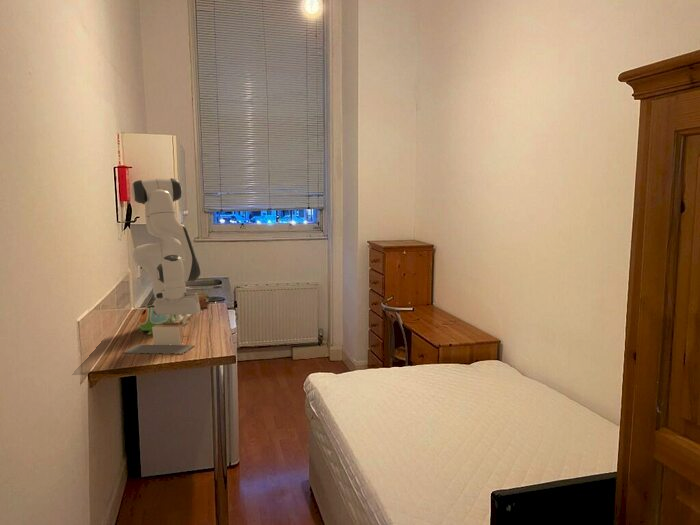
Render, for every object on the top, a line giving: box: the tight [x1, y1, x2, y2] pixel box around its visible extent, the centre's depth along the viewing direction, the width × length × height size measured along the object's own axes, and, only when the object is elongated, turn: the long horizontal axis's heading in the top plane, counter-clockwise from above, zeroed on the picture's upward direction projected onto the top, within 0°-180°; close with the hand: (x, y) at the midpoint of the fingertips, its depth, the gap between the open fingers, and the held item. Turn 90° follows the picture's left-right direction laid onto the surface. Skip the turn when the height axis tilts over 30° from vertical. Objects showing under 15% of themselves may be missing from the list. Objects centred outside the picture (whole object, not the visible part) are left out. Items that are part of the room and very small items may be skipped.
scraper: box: [163, 316, 192, 328], centre depth 230 cm, size 15×7×4 cm, turn 169°
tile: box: [152, 325, 185, 345], centre depth 220 cm, size 3×12×8 cm, turn 79°
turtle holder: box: [138, 304, 176, 335], centre depth 244 cm, size 12×18×12 cm
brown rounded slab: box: [194, 292, 211, 309], centre depth 286 cm, size 15×3×8 cm, turn 101°
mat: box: [122, 344, 195, 355], centre depth 214 cm, size 10×26×1 cm, turn 79°
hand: (178, 324), depth 229 cm, fingers closed on scraper, 2 cm apart
